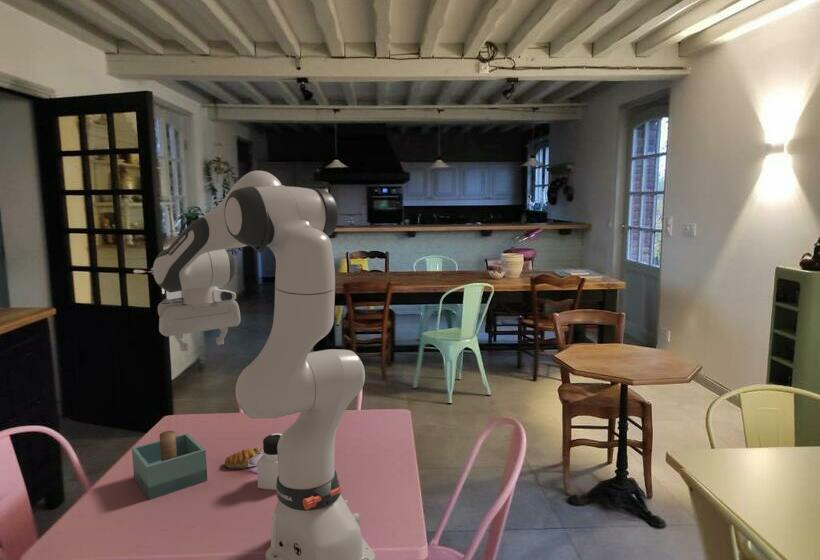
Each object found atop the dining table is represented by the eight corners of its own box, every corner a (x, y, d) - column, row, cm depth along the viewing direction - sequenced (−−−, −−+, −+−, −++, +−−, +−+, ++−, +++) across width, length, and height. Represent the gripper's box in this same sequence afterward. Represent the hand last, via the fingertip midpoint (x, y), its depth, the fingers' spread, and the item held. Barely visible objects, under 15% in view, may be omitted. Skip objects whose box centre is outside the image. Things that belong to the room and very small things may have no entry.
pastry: (226, 473, 139) (225, 459, 138) (223, 462, 145) (222, 448, 144) (263, 466, 142) (262, 452, 142) (259, 455, 148) (258, 442, 148)
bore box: (207, 480, 135) (205, 450, 134) (149, 499, 126) (146, 467, 125) (189, 461, 145) (187, 433, 144) (134, 478, 136) (131, 447, 135)
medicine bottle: (285, 491, 129) (282, 444, 127) (257, 488, 130) (255, 441, 129) (297, 477, 136) (295, 431, 134) (270, 474, 137) (268, 429, 136)
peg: (180, 479, 135) (177, 434, 134) (165, 484, 133) (161, 438, 131) (175, 474, 138) (172, 429, 136) (161, 478, 136) (157, 433, 134)
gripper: (160, 301, 131) (164, 357, 133) (241, 292, 144) (244, 343, 146) (153, 298, 136) (157, 352, 138) (232, 290, 149) (234, 338, 151)
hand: (202, 347), depth 142 cm, fingers open, 8 cm apart
